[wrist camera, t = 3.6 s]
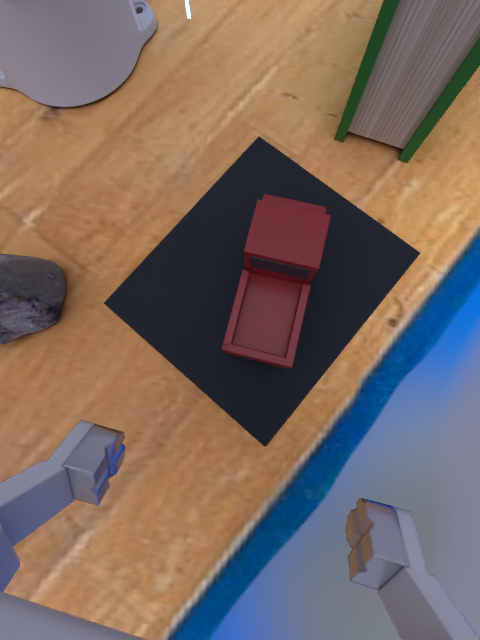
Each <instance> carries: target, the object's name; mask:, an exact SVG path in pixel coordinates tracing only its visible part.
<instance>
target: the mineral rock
mask: <svg viewBox="0 0 480 640" xmlns="http://www.w3.org/2000/svg"><path fill="white" fill-rule="evenodd" d="M65 291H66V288H65V281H64V276H63V273H62V270H61V269H60V267H59V266H58V265H57V264H56V263H54V262H53V261H50V260H45V259H40V258H35V257H28V256H18V255H9V254H1V253H0V344H5V343H8V342H10V341H12V340H14V339H16V338H17V337H19V336H21V335H24V334H28V333H33V332H37V331H41V330H44V329H46V328H47V327H49V326H50V325H52V324H55V323H56V322H57V321H58V320H59V310H60V306H61V304H62V303H63V300H64V298H65Z"/></svg>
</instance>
